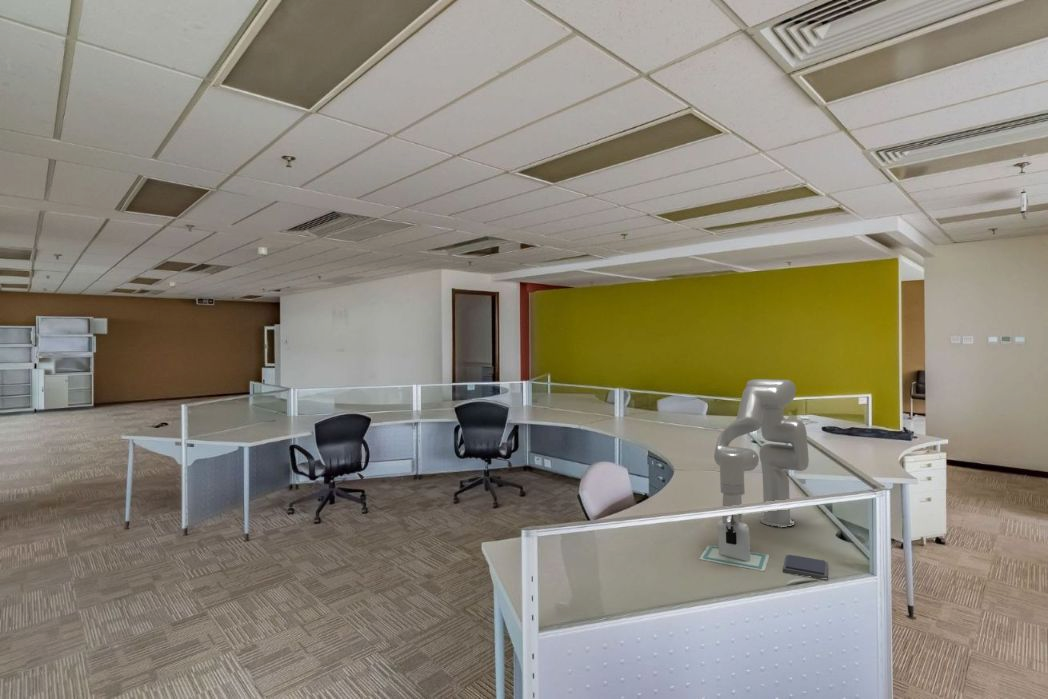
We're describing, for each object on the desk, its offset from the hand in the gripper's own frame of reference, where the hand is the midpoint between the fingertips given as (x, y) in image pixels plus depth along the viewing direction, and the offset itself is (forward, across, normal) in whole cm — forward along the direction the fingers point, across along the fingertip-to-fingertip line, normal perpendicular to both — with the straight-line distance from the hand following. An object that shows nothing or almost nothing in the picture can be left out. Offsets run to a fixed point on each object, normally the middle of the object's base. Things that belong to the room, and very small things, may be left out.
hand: (733, 538), depth 171 cm
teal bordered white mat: (+6, 0, 0) cm, 6 cm away
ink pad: (+6, -1, +21) cm, 22 cm away
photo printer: (+6, 0, 0) cm, 6 cm away
